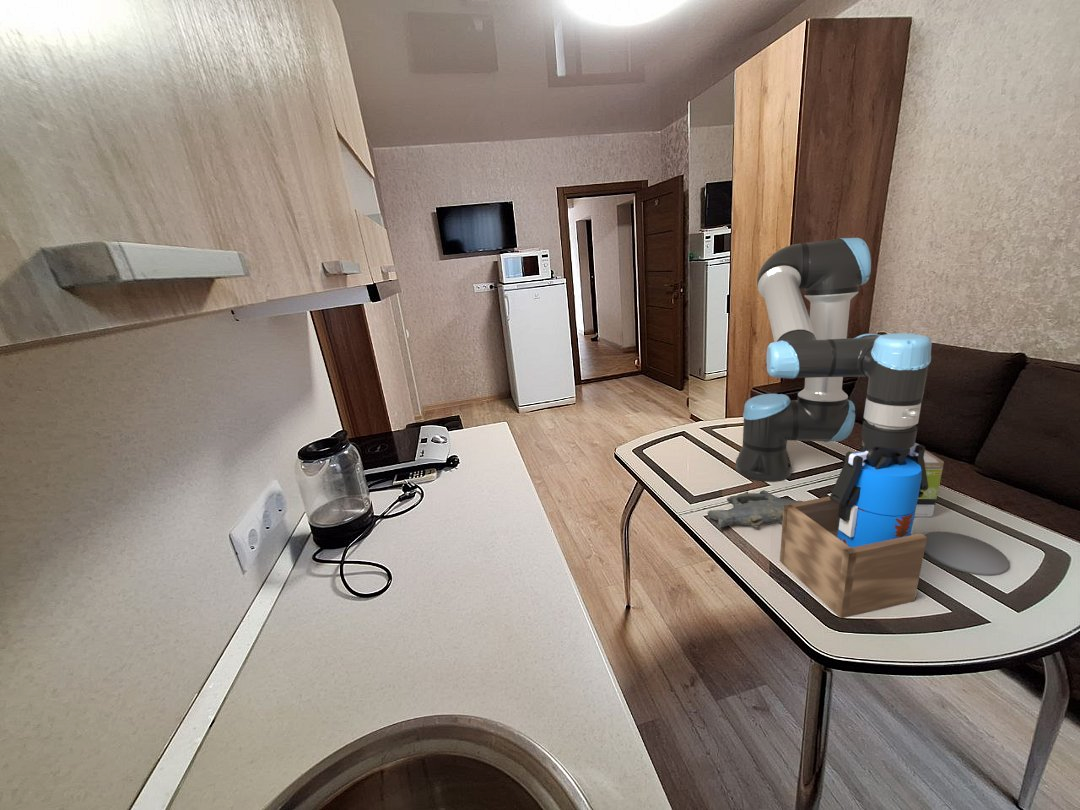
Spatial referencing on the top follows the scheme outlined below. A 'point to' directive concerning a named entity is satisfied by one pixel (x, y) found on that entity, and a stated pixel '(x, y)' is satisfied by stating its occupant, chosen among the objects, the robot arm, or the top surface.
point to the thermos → (885, 503)
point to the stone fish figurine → (752, 510)
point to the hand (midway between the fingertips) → (873, 527)
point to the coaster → (965, 553)
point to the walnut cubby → (848, 561)
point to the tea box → (933, 477)
